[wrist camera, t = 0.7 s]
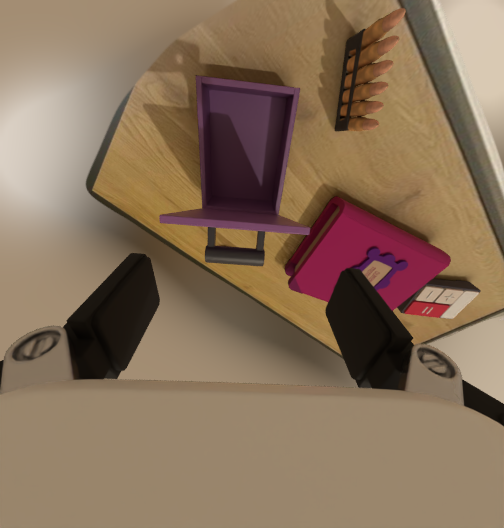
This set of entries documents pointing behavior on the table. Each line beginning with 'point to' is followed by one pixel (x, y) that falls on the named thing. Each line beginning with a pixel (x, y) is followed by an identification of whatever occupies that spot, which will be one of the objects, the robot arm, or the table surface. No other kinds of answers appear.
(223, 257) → the lid
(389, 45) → the ammunition clip
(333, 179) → the table surface
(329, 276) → the book
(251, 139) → the box
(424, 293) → the calculator
